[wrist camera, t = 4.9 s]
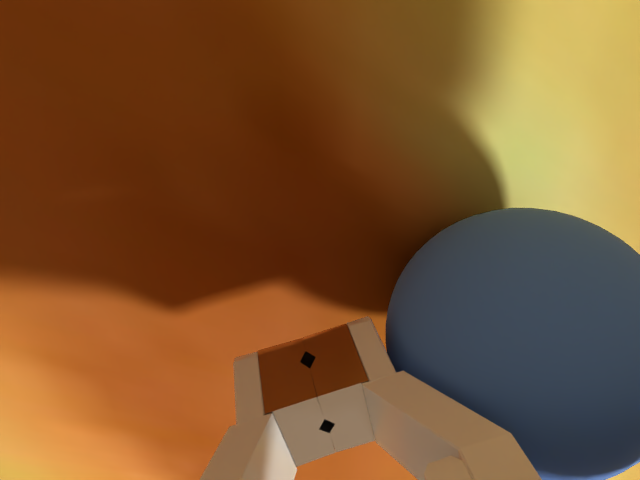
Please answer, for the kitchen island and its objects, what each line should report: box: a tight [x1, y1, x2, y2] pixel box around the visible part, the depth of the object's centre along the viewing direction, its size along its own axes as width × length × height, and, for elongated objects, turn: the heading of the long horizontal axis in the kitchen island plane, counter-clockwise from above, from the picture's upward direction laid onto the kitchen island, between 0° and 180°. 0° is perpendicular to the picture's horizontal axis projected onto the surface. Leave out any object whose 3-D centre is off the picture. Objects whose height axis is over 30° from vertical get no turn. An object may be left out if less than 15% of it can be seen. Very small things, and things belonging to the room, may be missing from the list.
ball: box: [386, 208, 640, 480], centre depth 9 cm, size 6×6×6 cm
